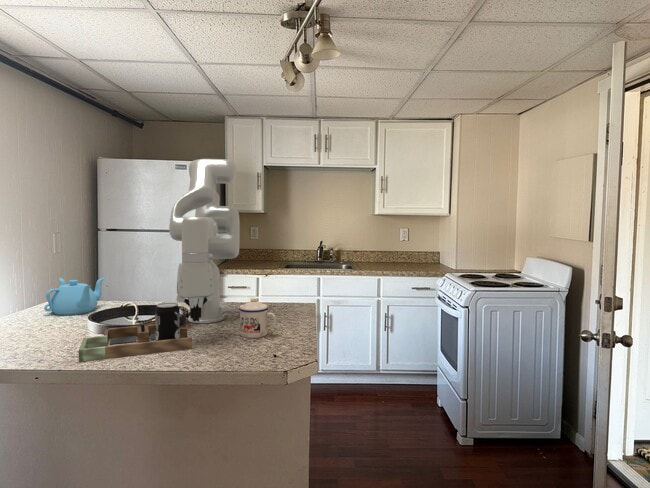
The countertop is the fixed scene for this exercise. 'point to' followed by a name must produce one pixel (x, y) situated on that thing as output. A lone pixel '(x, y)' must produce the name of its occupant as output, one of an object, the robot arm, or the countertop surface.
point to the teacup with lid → (254, 319)
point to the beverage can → (167, 321)
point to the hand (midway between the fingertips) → (195, 320)
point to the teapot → (73, 298)
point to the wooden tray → (100, 350)
